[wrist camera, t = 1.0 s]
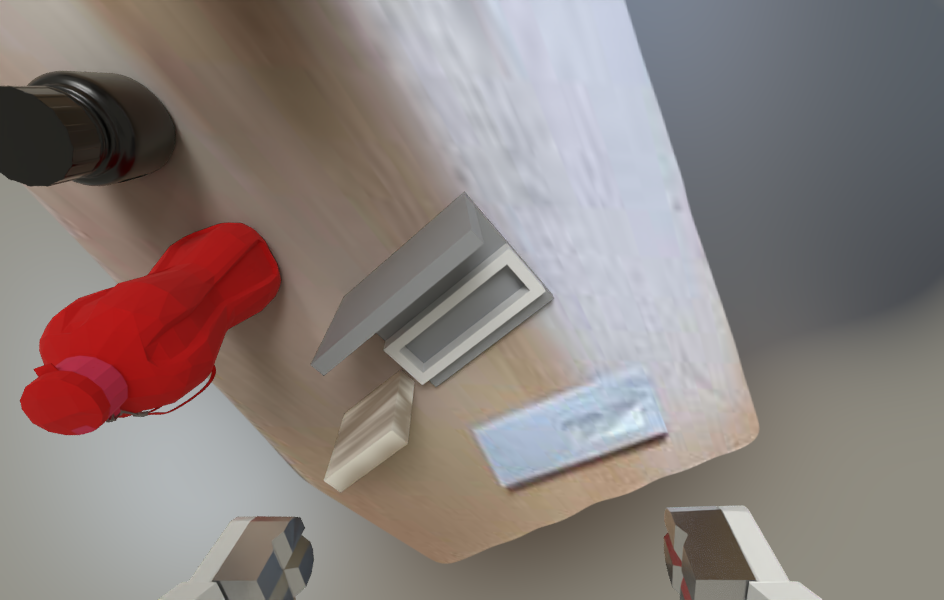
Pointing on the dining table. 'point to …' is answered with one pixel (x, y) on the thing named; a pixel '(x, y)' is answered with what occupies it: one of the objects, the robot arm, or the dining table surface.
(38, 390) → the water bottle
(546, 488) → the dining table surface
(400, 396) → the door panel
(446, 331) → the grey tablet stand
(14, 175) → the ink bottle
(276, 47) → the dining table surface
